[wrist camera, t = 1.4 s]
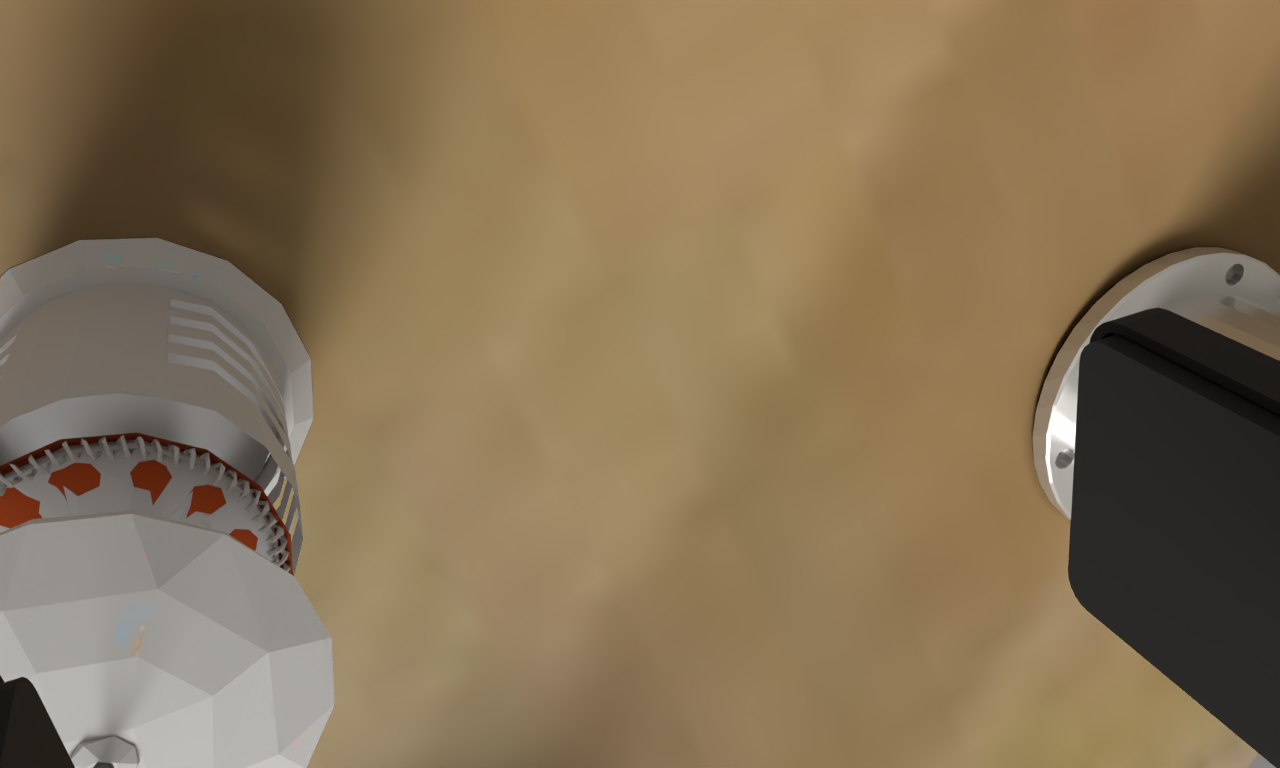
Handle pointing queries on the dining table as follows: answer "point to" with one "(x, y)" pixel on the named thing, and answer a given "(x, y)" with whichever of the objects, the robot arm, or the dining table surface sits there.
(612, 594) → the dining table surface
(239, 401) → the french press
